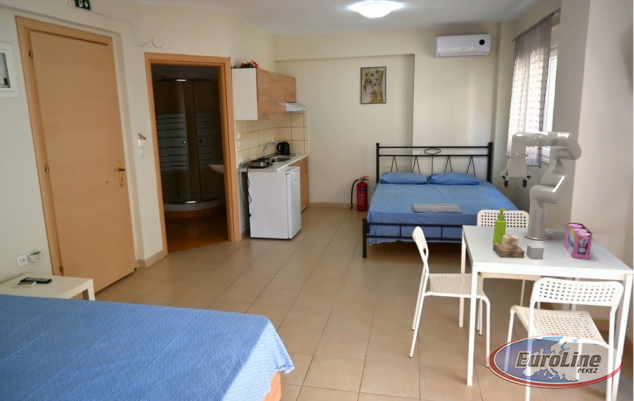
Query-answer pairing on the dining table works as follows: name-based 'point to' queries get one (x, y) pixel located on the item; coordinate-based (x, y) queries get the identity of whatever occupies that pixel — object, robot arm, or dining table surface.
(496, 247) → the walnut block
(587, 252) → the gum box
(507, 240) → the maple cube
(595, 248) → the dining table surface
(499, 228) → the soap dispenser
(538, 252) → the grey cube
